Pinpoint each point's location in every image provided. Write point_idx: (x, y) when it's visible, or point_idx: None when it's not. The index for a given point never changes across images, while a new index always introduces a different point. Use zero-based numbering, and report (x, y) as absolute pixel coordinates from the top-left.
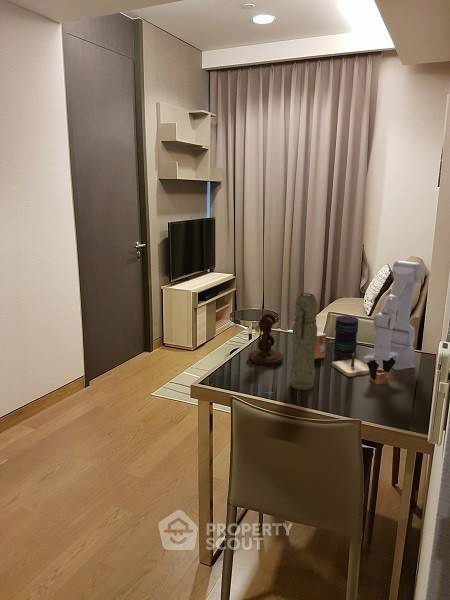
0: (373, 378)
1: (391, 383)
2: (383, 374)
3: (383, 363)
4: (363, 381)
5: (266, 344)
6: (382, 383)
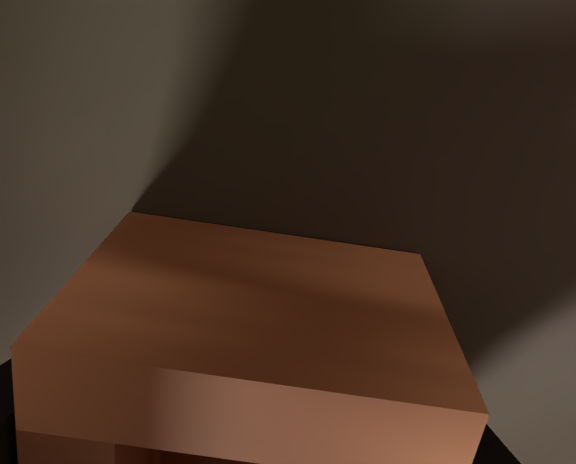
0: None
1: (86, 150)
2: (265, 366)
3: None
4: (537, 455)
5: None
6: (285, 234)
